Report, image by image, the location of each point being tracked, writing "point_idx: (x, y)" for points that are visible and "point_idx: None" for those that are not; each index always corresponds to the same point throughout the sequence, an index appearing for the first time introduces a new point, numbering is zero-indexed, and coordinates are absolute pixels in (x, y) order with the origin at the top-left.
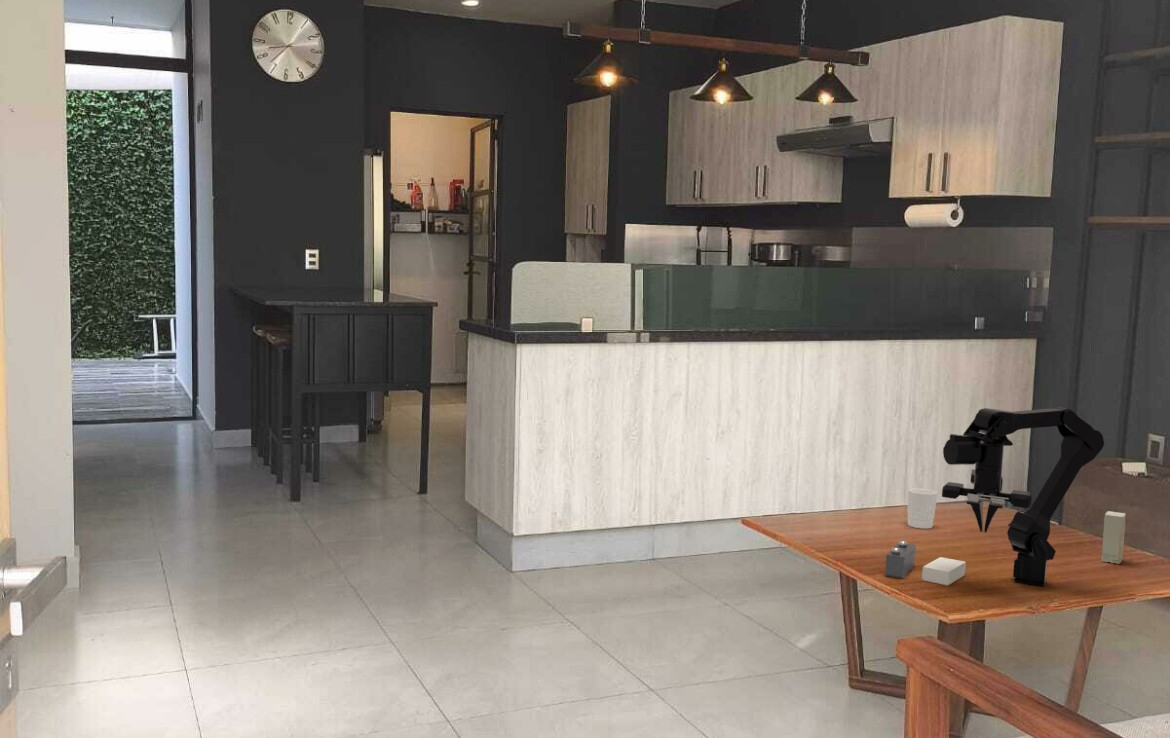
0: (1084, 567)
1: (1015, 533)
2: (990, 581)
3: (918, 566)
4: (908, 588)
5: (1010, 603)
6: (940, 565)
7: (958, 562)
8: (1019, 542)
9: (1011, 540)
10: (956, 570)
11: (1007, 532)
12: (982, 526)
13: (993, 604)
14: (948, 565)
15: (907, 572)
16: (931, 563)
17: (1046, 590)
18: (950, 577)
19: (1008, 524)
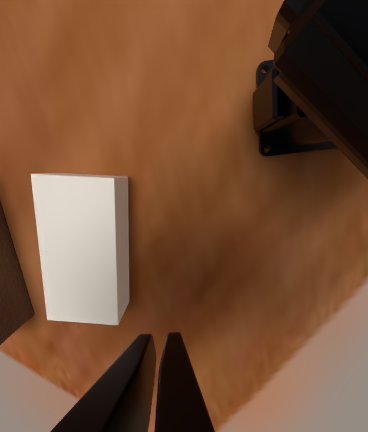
0: None
1: (360, 120)
2: (201, 194)
3: (4, 177)
4: (77, 371)
5: (278, 348)
6: (74, 276)
7: (99, 204)
8: (354, 162)
9: (294, 101)
10: (119, 260)
11: (279, 57)
12: (149, 405)
13: (248, 374)
14: (91, 261)
15: (17, 263)
16: (47, 271)
17: (350, 179)
18: (123, 298)
19: (323, 3)
